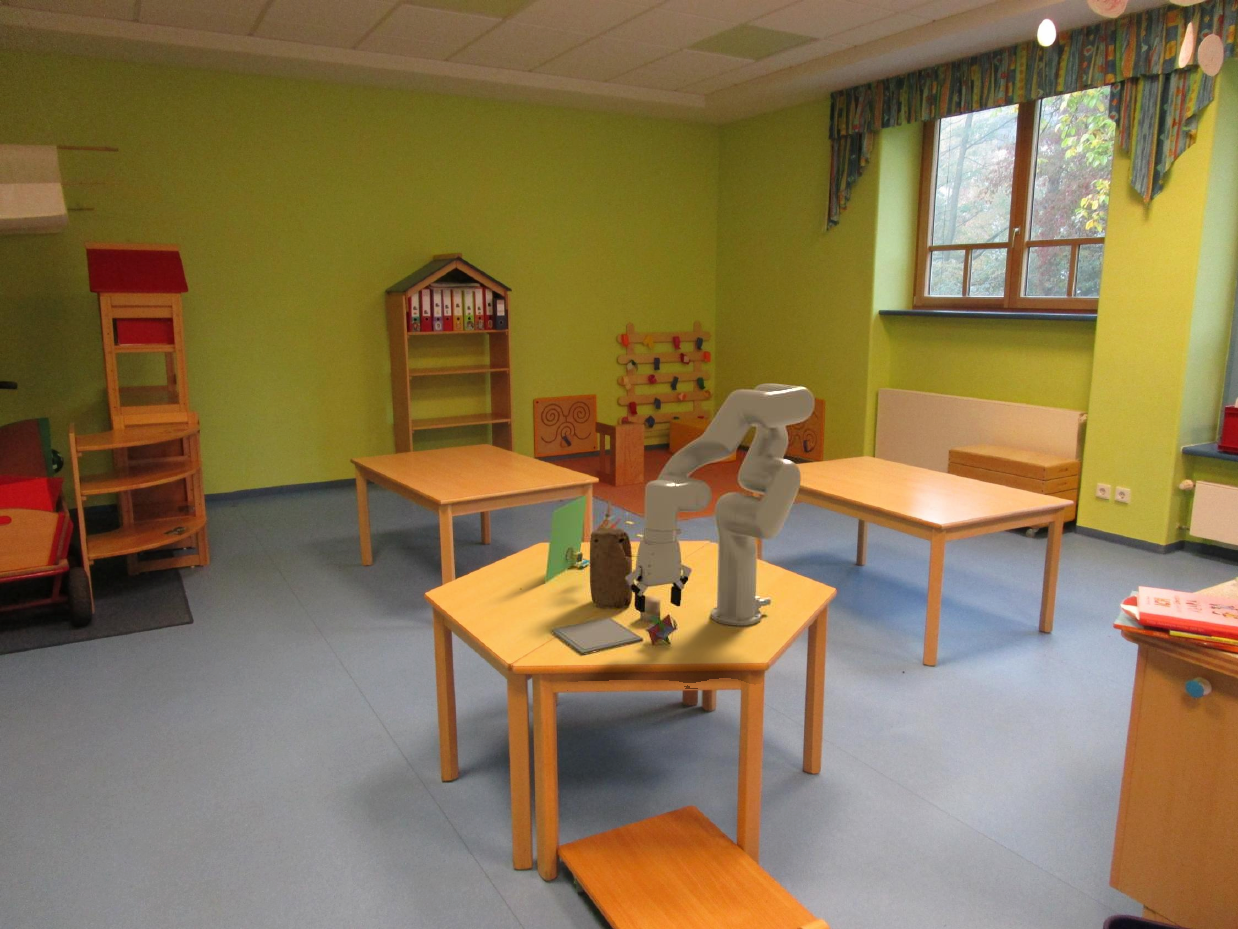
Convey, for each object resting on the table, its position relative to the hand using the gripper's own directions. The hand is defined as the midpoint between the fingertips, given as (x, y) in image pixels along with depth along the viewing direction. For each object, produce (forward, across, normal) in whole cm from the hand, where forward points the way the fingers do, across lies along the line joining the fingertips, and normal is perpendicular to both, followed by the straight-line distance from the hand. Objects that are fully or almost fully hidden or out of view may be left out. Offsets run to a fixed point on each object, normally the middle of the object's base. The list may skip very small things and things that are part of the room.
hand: (657, 607), depth 202 cm
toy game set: (+8, -12, -49) cm, 51 cm away
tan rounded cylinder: (+8, -7, -14) cm, 18 cm away
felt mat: (+9, +10, -11) cm, 17 cm away
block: (+9, -4, -28) cm, 30 cm away
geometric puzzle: (+9, -1, 0) cm, 9 cm away
